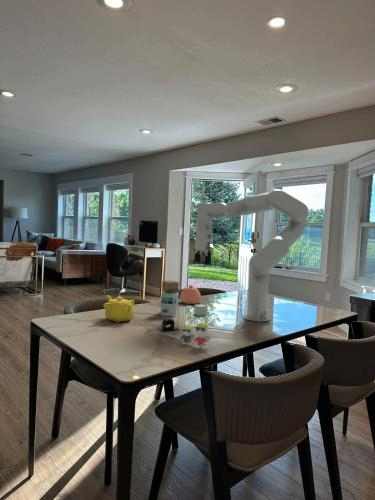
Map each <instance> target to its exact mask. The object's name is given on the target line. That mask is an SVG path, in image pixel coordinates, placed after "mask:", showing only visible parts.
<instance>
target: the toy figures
mask: <svg viewBox="0 0 375 500" xmlns="http://www.w3.org/2000/svg"><path fill="white" fill-rule="evenodd" d="M208 327H209V324H208V323H206V322H198V323H197V324H196V326H195V333H194V326H192V325H184V326H183V328H181V330H182V335H181V336H180V339H181V340H182V341H181V344H182V345H186V344H187V346H191V345H192V344H193V343H192V341H193V340H194V341H195V345H194V348H196V349H197V348H198V349H199V348H200V349H202V348H203V349H202V350H206V349H207V346H206V343H209V341H210V340H211V338H212V335H213V334H212V333H209V328H208ZM196 343H197V344H196ZM192 346H193V345H192Z"/></svg>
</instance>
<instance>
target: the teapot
mask: <svg viewBox="0 0 375 500" xmlns="http://www.w3.org/2000/svg"><path fill="white" fill-rule="evenodd" d="M106 296H107V299H108V301H107V302H105V303H103V308H104V315H105V318H106V319H108V320H109V321H113V322H115V323H120V322H129V321H131V320H132V319H133V318H134V315H135V314H134V308H133V307H134V305H135V300H134V299H126V298H123V296H117V297H116V298H112V296H111V295H108V294H107V295H106Z"/></svg>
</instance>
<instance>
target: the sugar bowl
mask: <svg viewBox="0 0 375 500" xmlns="http://www.w3.org/2000/svg"><path fill="white" fill-rule="evenodd" d="M179 300H180V302H181V303H183V304H184V305H188V304H189V305H190V304H192V305H194V304H195V305H197V304H199V303H201V301H202V294H201V293H200V290H199V289H198V288H197V287H194V285H193V284H189V285H188V286H186V287H184V288H183V289H182V291H181V293H179Z"/></svg>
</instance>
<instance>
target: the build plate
mask: <svg viewBox="0 0 375 500" xmlns="http://www.w3.org/2000/svg"><path fill="white" fill-rule="evenodd" d="M155 330H157V331H158V332H159V333H166V332H167V333H168V332H175V331H181V330H182V328H179V327H177V326H175V320H174V319H172V318H163V319H162V321H161V327H158V328H155Z"/></svg>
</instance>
